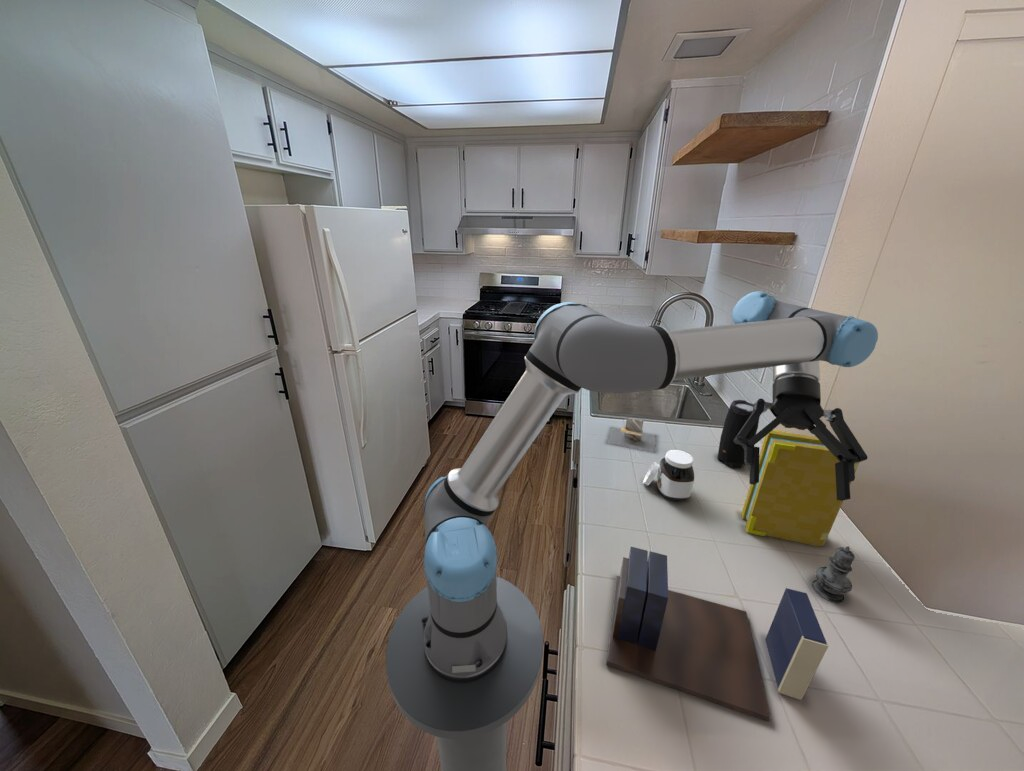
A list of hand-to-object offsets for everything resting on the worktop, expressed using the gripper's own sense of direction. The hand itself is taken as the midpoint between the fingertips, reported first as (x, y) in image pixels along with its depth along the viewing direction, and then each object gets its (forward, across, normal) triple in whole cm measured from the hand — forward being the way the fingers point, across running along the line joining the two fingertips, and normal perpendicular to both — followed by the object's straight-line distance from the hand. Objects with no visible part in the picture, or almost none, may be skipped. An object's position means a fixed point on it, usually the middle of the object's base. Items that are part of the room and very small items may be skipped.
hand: (797, 491), depth 68 cm
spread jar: (-2, +18, -37) cm, 41 cm away
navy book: (+29, 0, -7) cm, 29 cm away
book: (+3, -9, -32) cm, 34 cm away
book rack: (+29, +16, -6) cm, 34 cm away
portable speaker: (-17, -2, -53) cm, 56 cm away
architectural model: (-19, +28, -55) cm, 65 cm away
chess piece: (+15, -13, -21) cm, 29 cm away
